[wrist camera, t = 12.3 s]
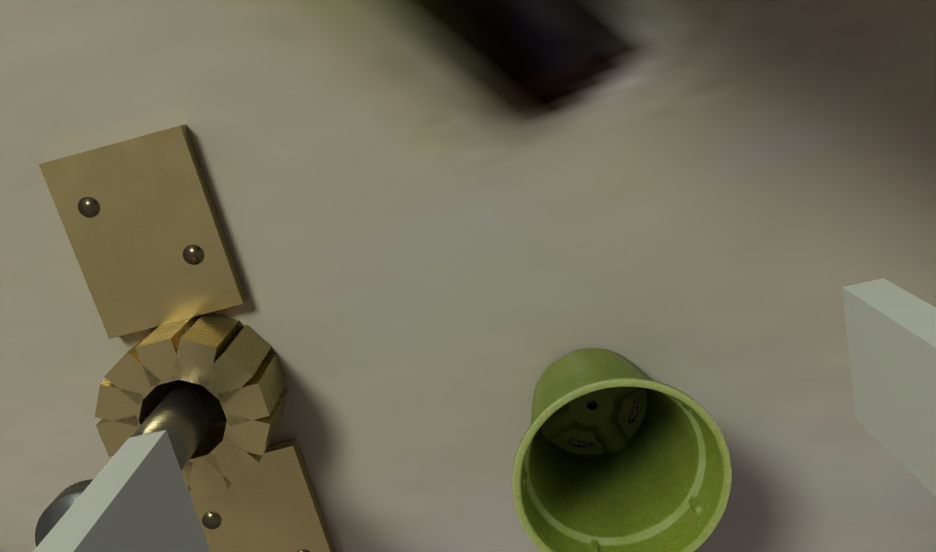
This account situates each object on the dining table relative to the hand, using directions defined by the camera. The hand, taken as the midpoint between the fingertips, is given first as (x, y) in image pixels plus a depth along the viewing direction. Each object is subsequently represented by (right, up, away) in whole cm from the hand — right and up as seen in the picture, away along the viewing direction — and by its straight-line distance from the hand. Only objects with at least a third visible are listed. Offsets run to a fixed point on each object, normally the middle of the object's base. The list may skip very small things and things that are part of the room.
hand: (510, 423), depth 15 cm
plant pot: (+6, -4, +27) cm, 28 cm away
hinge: (-14, -3, +26) cm, 30 cm away
